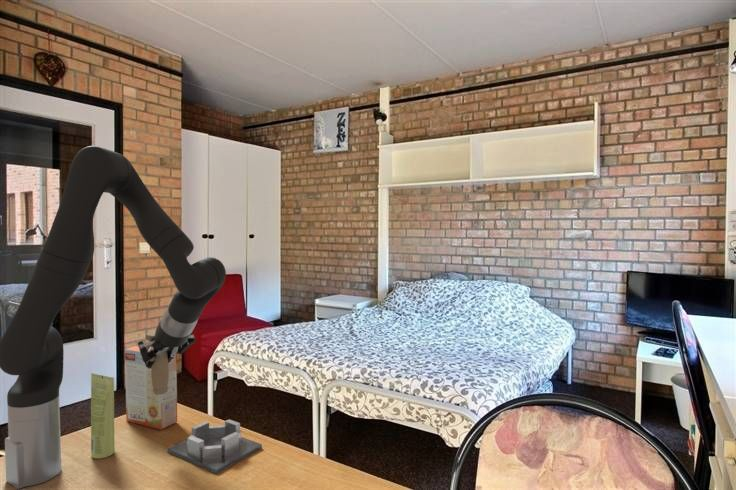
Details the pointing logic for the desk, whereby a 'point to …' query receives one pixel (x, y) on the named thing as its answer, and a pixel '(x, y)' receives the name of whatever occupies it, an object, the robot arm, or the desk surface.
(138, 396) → the cracker box
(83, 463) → the desk surface
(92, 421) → the tube
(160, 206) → the robot arm
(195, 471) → the desk surface
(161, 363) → the handle
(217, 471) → the octagonal fixture plate
